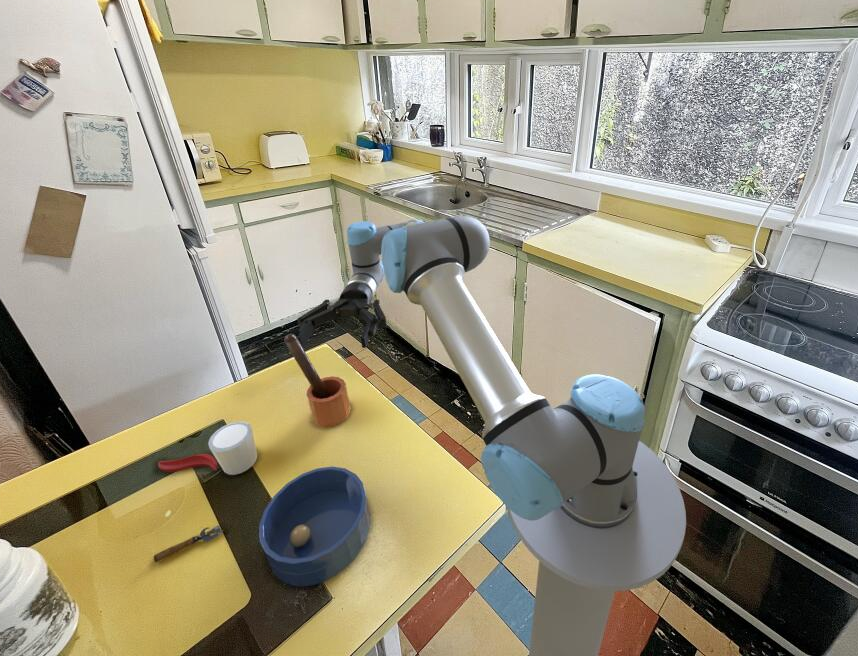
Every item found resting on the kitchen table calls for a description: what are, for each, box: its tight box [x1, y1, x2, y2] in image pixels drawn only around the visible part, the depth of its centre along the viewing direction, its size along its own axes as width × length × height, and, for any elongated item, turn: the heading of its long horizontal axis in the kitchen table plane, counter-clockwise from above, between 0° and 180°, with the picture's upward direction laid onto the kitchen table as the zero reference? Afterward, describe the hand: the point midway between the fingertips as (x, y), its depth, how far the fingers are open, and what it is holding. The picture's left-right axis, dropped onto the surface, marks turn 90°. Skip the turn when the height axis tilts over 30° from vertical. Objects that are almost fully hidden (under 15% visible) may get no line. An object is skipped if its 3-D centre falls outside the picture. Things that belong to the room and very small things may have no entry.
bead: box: [290, 525, 311, 548], centre depth 64 cm, size 3×3×3 cm
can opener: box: [153, 525, 225, 563], centre depth 64 cm, size 9×2×1 cm, turn 119°
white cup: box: [207, 421, 258, 476], centre depth 76 cm, size 7×7×7 cm
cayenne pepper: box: [157, 453, 219, 473], centre depth 77 cm, size 12×5×2 cm, turn 77°
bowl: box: [258, 466, 371, 587], centre depth 65 cm, size 15×15×6 cm
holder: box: [306, 375, 351, 428], centre depth 87 cm, size 8×8×7 cm
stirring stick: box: [283, 333, 331, 399], centre depth 84 cm, size 2×2×20 cm
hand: (331, 343), depth 89 cm, fingers open, 13 cm apart
